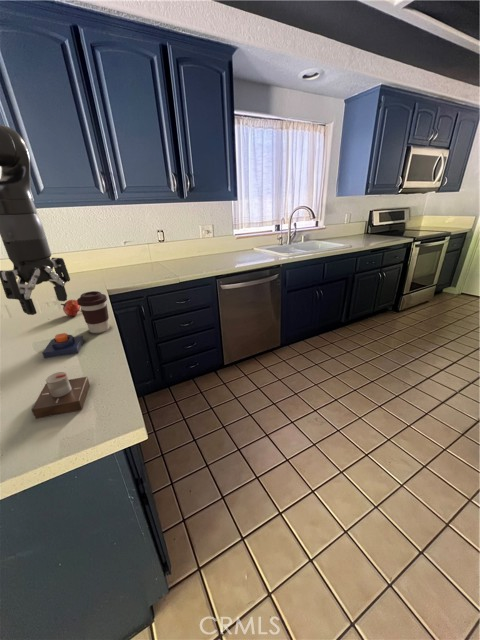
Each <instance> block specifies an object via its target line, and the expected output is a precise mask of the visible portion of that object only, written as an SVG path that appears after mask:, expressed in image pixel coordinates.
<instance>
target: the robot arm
mask: <svg viewBox="0 0 480 640" xmlns="http://www.w3.org/2000/svg"><path fill="white" fill-rule="evenodd" d="M0 167H1V175H0V238H1V241H2V243H3V246H4V249H5V252H6V254H7V257H8V259H9V261H10V262H11V263H12V264H13V268H12V269H10V270H9V269H8V270H6V269H5V270H3V269H2V270H0V283H1V286H2V289H3V291H4V294H5V295H4V296H5V298H6V299H8V300H18V301H19V304H20V307H21V309H22V311H23V313H24V314H26V315H28V316H34V315H36V314H37V309H36V306H35V304H34V301H33V298H31V295H32V292H33V290H35V288H36V285H37V286H38V285H40V284H42V283H45V282H46V283H47V282H49V283H50V284H52V285H53V290H54V293H55V296H56V299H57V301H58V302H67V301H68V294H67V291H66V287H65V286H66V284H67V283H68V282H70V281H71V278H70V275H69V272H68V269H67V266H66V263H65V260H64V258H63V257H52V251H51V249H50V245H49V242H48V239H47V235H46V233H45V229H44V226H43V223H42V221H41V219H40V216H39V213H38V211H37V208H36V205H35V201H34V198H33V196H32V191H31V189H32V185H31V184H32V181H31V156H30V152H29V148H28V146H27V144H26V142H25V140H24V139H23V137H22V136H21V135H20V134H19V132H18V131H16V130H15V129H13V128H12V127H10V126H7V125H3V124H0Z"/></svg>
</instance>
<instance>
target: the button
mask: <svg viewBox="0 0 480 640" xmlns="http://www.w3.org/2000/svg"><path fill="white" fill-rule="evenodd" d="M67 335H68V333H66V332H64V333H58V334H56V335H55V336H54V338H55V340H56V342H63V341H66V340H68V336H67Z"/></svg>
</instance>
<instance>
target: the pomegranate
mask: <svg viewBox="0 0 480 640" xmlns="http://www.w3.org/2000/svg"><path fill="white" fill-rule="evenodd" d="M60 306H62V310H63V313H64V314H65V315H66V316H69V317H73V318H74V317H76V316H77V315H78V313H79V312H80V313H82V311H81V306H80V305H78V303H77V299H69V300H68V299H67V300H66V301H65V302H64V303H60Z"/></svg>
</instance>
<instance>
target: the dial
mask: <svg viewBox="0 0 480 640" xmlns="http://www.w3.org/2000/svg"><path fill="white" fill-rule="evenodd" d="M69 380H70V378H69V376H68V374H67V372H64V371H57V372H54V373H52V374H50V375H48V376H47V377H46V379H45V381H46V383H47V385H48V388H49V390H50V393H51V395H52V396H53V397H61V396H64V395H66V394H68V393H69V392H70V391H71V385H70V382H69ZM46 383H45V384H46Z"/></svg>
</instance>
